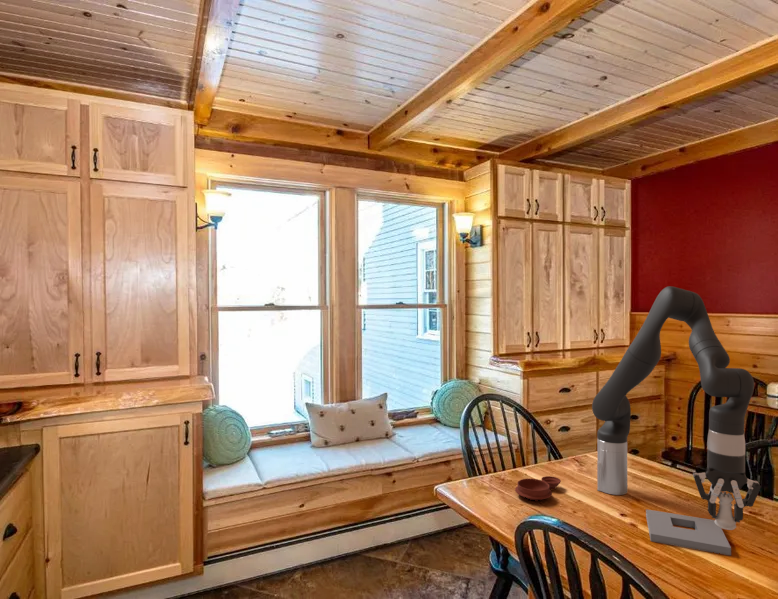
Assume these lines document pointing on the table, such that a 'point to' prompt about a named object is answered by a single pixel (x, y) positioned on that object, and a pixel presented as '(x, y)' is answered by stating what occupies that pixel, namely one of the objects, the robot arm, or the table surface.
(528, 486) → the pottery
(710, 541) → the socket dock
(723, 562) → the table surface
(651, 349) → the robot arm
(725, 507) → the rook chess piece
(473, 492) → the table surface
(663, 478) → the table surface
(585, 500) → the table surface
